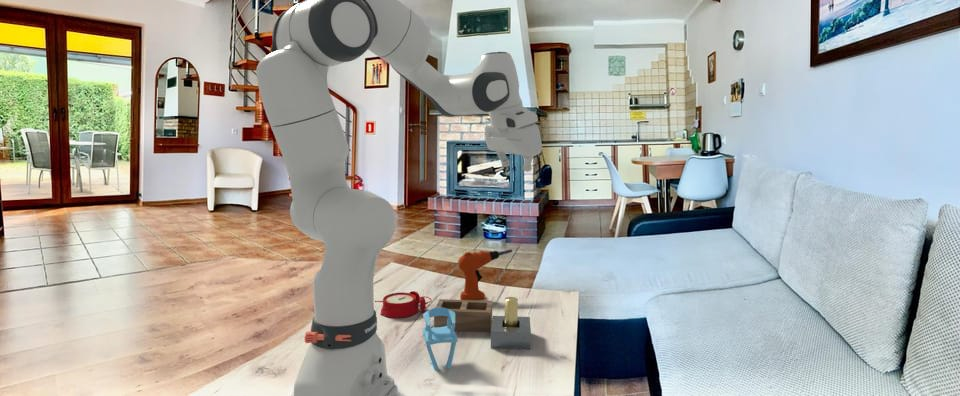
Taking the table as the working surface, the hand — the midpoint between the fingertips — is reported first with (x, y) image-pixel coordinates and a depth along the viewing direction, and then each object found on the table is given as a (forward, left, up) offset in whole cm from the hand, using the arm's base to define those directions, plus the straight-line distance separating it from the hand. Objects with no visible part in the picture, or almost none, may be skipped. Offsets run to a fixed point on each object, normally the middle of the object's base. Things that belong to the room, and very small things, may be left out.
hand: (516, 168), depth 119 cm
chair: (-30, +16, -41) cm, 53 cm away
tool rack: (-11, +13, -40) cm, 44 cm away
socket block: (-19, +1, -40) cm, 44 cm away
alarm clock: (0, +31, -41) cm, 51 cm away
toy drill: (+13, +9, -40) cm, 44 cm away
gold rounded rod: (-19, +1, -39) cm, 43 cm away
